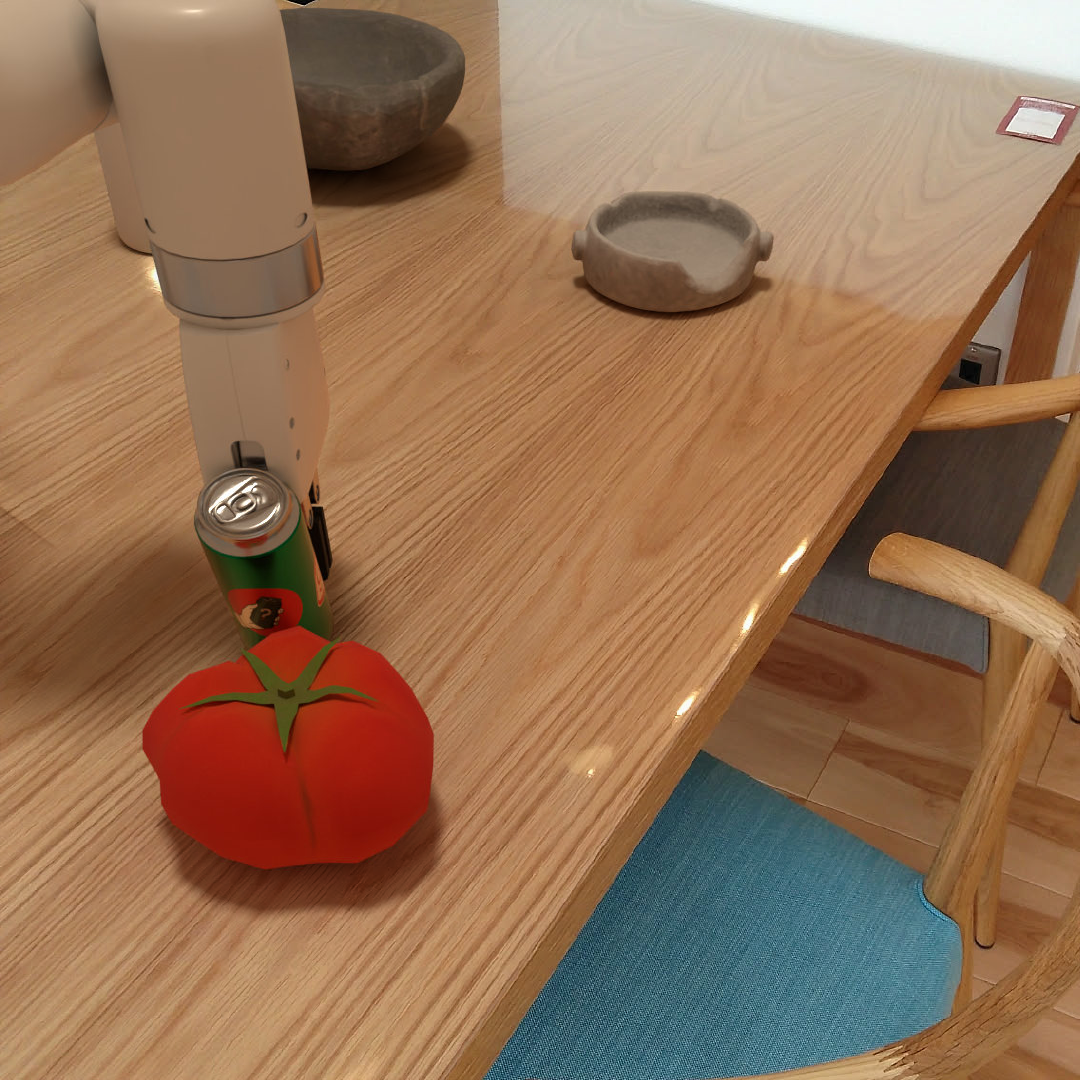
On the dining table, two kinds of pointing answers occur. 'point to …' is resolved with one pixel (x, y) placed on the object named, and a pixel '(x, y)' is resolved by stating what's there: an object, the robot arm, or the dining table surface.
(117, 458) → the dining table surface
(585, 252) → the dish
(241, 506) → the soda can
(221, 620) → the dining table surface
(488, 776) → the dining table surface
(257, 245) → the robot arm
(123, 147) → the milk bottle
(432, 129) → the bowl
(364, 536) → the dining table surface
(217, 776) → the tomato
